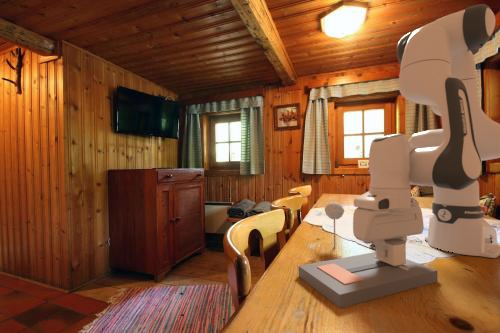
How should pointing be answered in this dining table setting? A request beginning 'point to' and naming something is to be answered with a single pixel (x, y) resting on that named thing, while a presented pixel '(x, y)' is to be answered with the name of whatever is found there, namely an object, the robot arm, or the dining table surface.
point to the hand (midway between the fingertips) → (390, 255)
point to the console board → (363, 278)
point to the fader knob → (394, 252)
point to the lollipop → (334, 212)
